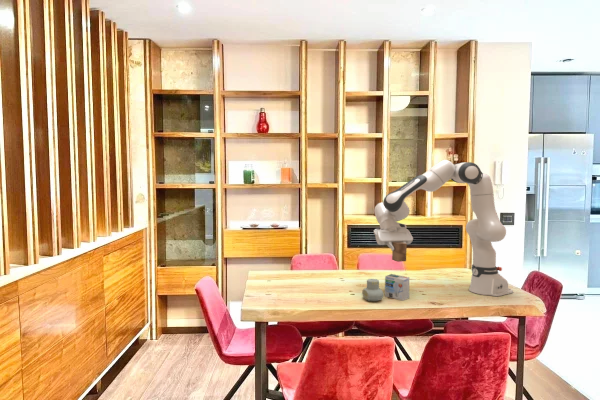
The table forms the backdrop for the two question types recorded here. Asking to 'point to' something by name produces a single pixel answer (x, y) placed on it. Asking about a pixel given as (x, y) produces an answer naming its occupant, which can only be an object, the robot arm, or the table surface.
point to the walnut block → (399, 251)
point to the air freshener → (372, 291)
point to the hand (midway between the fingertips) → (399, 250)
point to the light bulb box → (397, 287)
